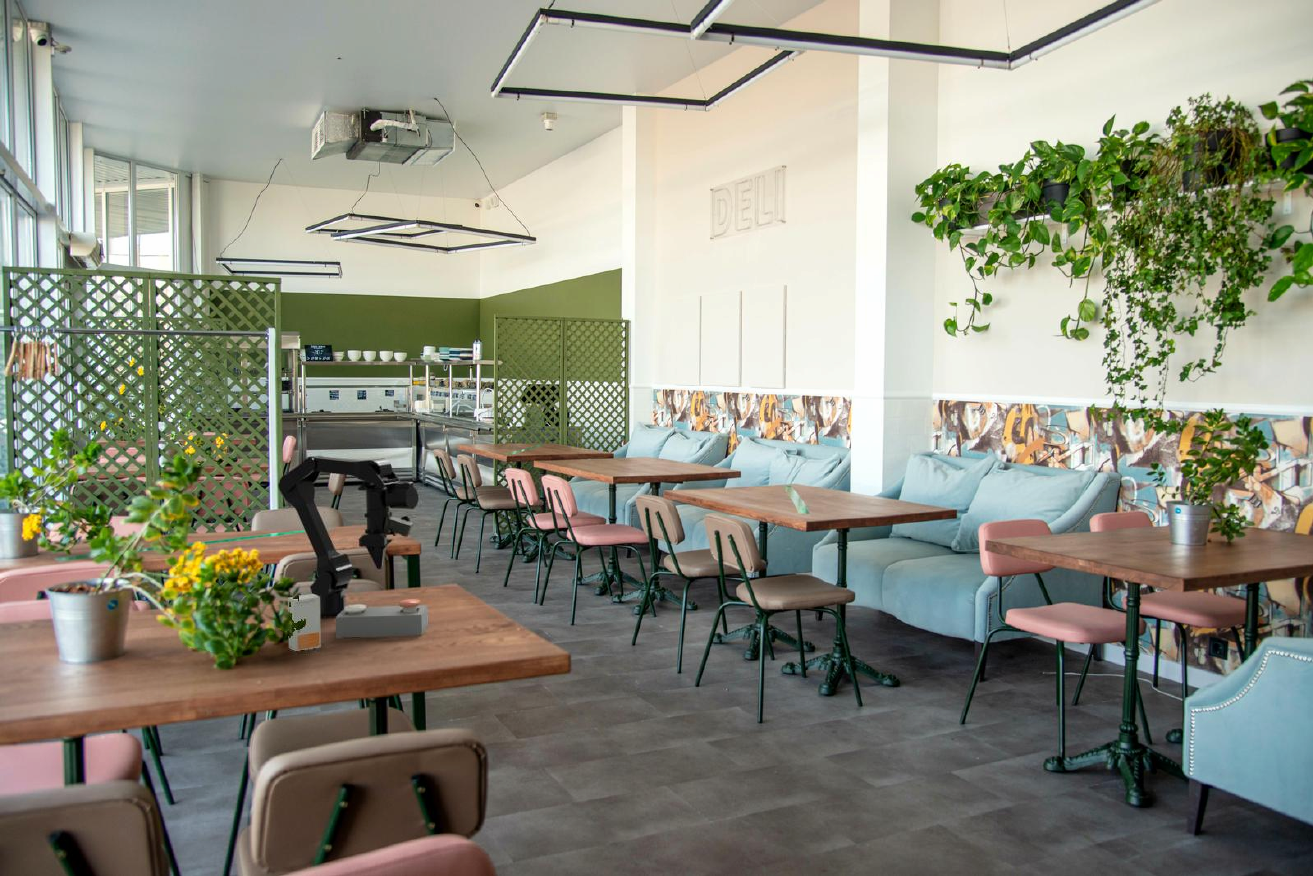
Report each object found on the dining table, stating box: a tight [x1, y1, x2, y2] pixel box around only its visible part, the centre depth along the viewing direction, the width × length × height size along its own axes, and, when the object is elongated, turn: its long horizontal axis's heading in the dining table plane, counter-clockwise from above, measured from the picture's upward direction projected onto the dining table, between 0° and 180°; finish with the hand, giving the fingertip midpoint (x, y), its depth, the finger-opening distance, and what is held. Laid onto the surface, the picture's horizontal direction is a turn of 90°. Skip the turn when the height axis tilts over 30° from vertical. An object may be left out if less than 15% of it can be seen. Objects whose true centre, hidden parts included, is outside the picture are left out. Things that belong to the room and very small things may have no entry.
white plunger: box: [344, 603, 367, 614], centre depth 231 cm, size 5×5×5 cm
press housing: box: [335, 604, 429, 639], centre depth 232 cm, size 20×10×5 cm, turn 95°
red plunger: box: [398, 598, 421, 613], centre depth 233 cm, size 5×5×5 cm
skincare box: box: [287, 593, 322, 652], centre depth 218 cm, size 6×4×12 cm
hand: (379, 568), depth 244 cm, fingers closed
